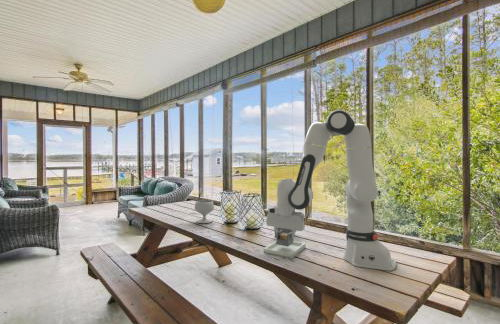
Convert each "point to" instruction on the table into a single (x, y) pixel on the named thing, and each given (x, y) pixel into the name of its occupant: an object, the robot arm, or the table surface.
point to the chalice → (204, 209)
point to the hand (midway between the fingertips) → (284, 236)
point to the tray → (285, 249)
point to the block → (283, 236)
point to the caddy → (284, 242)
